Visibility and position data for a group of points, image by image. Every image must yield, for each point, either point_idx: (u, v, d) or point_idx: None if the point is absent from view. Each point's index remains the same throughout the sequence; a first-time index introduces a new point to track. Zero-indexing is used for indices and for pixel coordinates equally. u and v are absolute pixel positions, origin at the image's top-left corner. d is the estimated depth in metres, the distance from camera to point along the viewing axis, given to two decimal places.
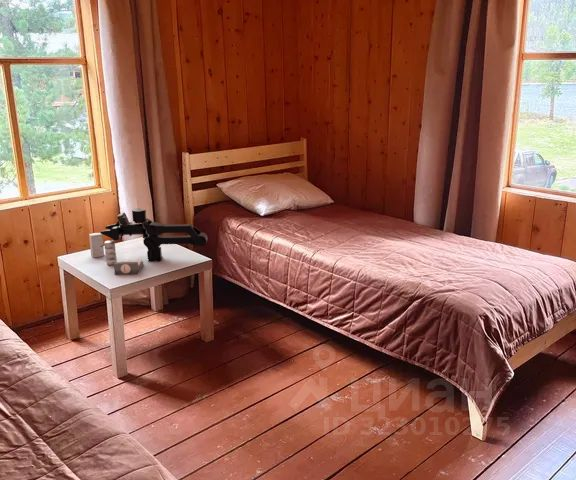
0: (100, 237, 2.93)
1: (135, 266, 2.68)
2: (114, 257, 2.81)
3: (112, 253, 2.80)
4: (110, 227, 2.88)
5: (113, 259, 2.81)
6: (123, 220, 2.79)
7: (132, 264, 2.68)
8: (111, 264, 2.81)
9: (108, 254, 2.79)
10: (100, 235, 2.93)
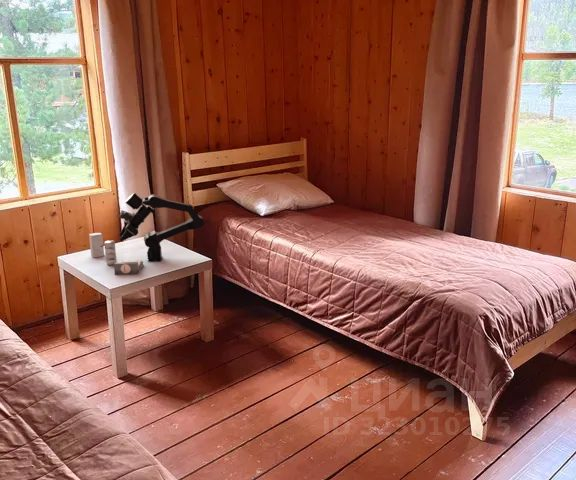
0: (100, 237, 2.93)
1: (135, 266, 2.68)
2: (114, 257, 2.81)
3: (112, 253, 2.80)
4: (123, 232, 2.85)
5: (113, 259, 2.81)
6: (127, 215, 2.75)
7: (132, 264, 2.68)
8: (111, 264, 2.81)
9: (108, 254, 2.79)
10: (100, 235, 2.93)
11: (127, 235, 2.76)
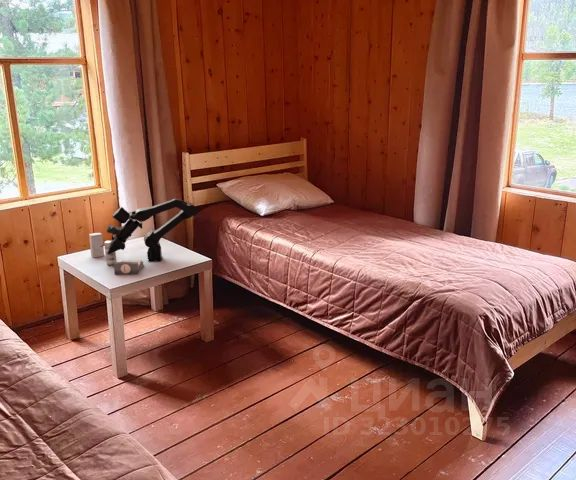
0: (100, 237, 2.93)
1: (135, 266, 2.68)
2: (114, 257, 2.81)
3: (112, 253, 2.80)
4: None
5: (113, 259, 2.81)
6: (114, 229, 2.75)
7: (132, 264, 2.68)
8: (111, 264, 2.81)
9: (108, 254, 2.79)
10: (100, 235, 2.93)
11: (114, 248, 2.78)
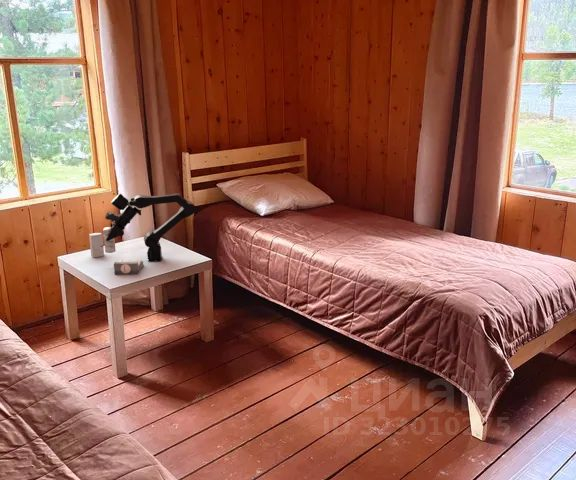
0: (100, 237, 2.93)
1: (135, 266, 2.68)
2: (113, 244, 2.79)
3: (111, 240, 2.78)
4: None
5: (112, 246, 2.79)
6: (112, 216, 2.73)
7: (132, 264, 2.68)
8: (110, 251, 2.79)
9: (107, 241, 2.77)
10: (100, 235, 2.93)
11: (113, 235, 2.76)
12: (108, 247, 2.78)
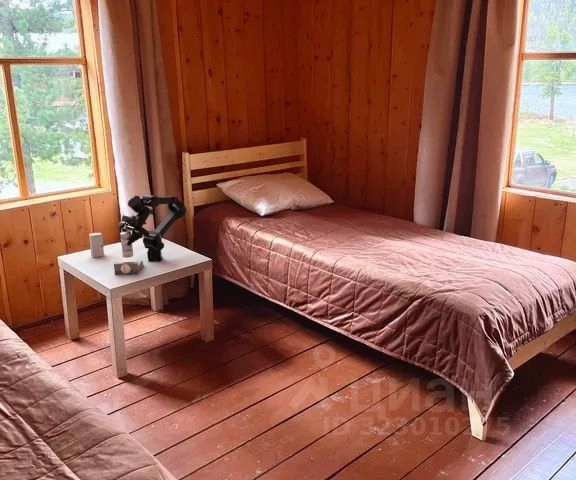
0: (100, 237, 2.93)
1: (135, 266, 2.68)
2: (132, 248, 2.73)
3: (131, 244, 2.72)
4: None
5: (131, 250, 2.73)
6: (134, 218, 2.68)
7: (132, 264, 2.68)
8: (130, 256, 2.73)
9: (127, 245, 2.70)
10: (100, 235, 2.93)
11: (134, 238, 2.71)
12: (129, 251, 2.71)
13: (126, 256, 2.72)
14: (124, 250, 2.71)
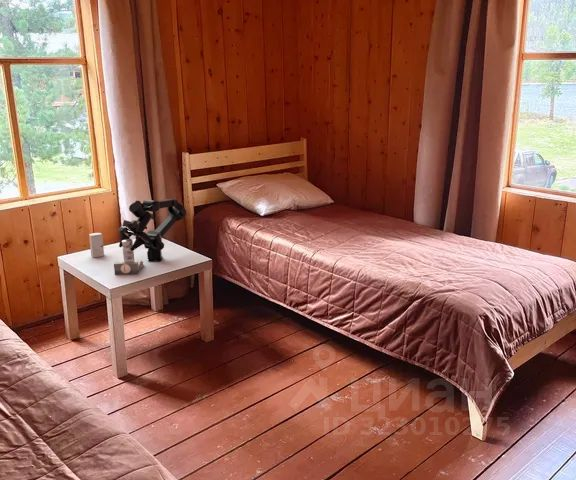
0: (100, 237, 2.93)
1: (135, 266, 2.68)
2: (133, 255, 2.74)
3: (132, 251, 2.73)
4: None
5: (133, 257, 2.74)
6: (135, 223, 2.69)
7: (132, 264, 2.68)
8: None
9: (129, 253, 2.71)
10: (100, 235, 2.93)
11: (138, 243, 2.70)
12: (130, 259, 2.72)
13: None
14: (126, 258, 2.72)
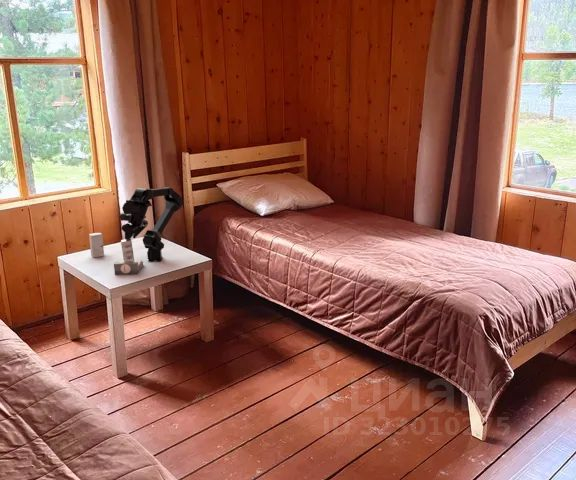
0: (100, 237, 2.93)
1: (135, 266, 2.68)
2: (133, 255, 2.74)
3: (132, 251, 2.73)
4: (135, 233, 2.85)
5: (133, 257, 2.74)
6: (123, 216, 2.74)
7: (132, 264, 2.68)
8: None
9: (128, 253, 2.71)
10: (100, 235, 2.93)
11: (128, 235, 2.74)
12: (130, 259, 2.72)
13: None
14: (125, 258, 2.72)
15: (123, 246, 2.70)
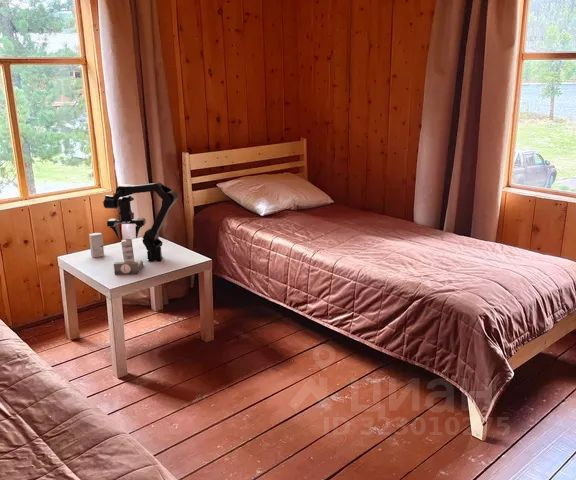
0: (100, 237, 2.93)
1: (135, 266, 2.68)
2: (133, 255, 2.74)
3: (132, 251, 2.73)
4: None
5: (133, 257, 2.74)
6: None
7: (132, 264, 2.68)
8: None
9: (128, 253, 2.71)
10: (100, 235, 2.93)
11: None
12: (130, 259, 2.73)
13: None
14: (125, 257, 2.72)
15: (123, 246, 2.70)
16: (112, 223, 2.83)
